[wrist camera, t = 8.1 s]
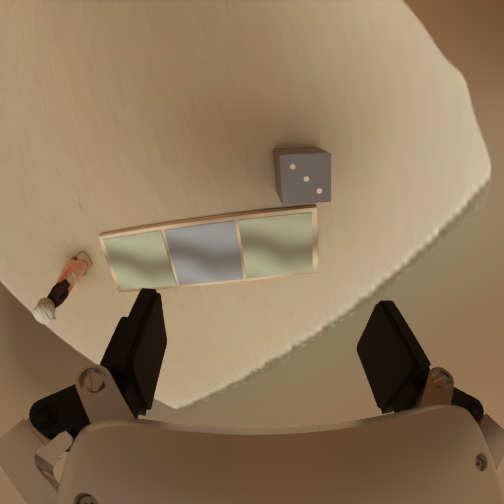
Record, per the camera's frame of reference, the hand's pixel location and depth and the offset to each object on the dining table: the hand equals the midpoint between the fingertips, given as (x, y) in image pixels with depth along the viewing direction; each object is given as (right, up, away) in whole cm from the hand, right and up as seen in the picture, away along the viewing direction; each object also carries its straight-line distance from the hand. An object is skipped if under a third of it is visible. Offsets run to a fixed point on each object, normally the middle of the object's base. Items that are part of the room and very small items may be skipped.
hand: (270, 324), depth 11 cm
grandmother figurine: (-26, +1, +24) cm, 36 cm away
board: (-7, +3, +23) cm, 24 cm away
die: (+4, +12, +19) cm, 23 cm away
